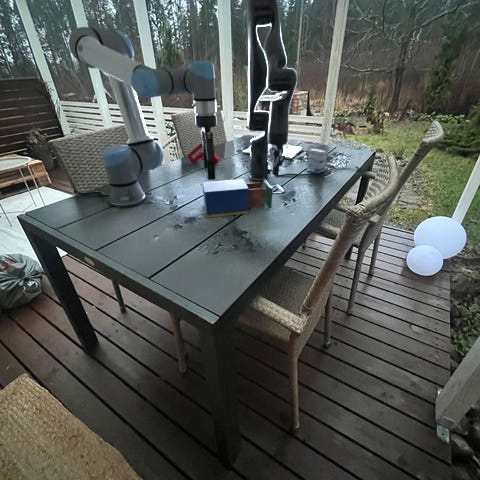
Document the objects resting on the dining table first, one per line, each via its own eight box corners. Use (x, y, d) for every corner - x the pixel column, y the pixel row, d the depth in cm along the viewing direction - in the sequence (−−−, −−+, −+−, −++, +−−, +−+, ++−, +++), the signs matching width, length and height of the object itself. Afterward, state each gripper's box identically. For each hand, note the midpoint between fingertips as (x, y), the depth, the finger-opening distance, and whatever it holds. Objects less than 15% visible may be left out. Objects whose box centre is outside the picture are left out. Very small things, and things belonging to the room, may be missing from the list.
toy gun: (223, 158, 167) (209, 137, 163) (221, 160, 164) (206, 138, 160) (204, 173, 177) (189, 154, 173) (201, 175, 174) (186, 155, 170)
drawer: (277, 197, 123) (278, 178, 119) (284, 206, 115) (286, 186, 111) (229, 202, 120) (229, 182, 115) (234, 211, 112) (233, 191, 107)
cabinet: (242, 202, 122) (242, 178, 116) (248, 213, 113) (248, 188, 107) (204, 206, 119) (202, 182, 113) (206, 217, 110) (204, 192, 104)
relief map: (291, 159, 177) (291, 151, 174) (243, 153, 190) (243, 145, 187) (302, 149, 197) (303, 142, 194) (258, 144, 211) (258, 137, 208)
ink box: (324, 171, 156) (327, 150, 149) (319, 173, 153) (323, 152, 146) (310, 168, 160) (313, 148, 154) (306, 170, 157) (309, 149, 151)
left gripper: (192, 109, 104) (197, 164, 116) (197, 120, 83) (203, 185, 95) (212, 109, 105) (215, 163, 117) (221, 119, 85) (224, 184, 96)
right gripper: (263, 127, 107) (262, 170, 117) (274, 134, 97) (271, 181, 106) (281, 126, 109) (278, 169, 118) (294, 133, 98) (289, 179, 107)
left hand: (209, 173), depth 106 cm, fingers open, 13 cm apart
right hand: (275, 174), depth 112 cm, fingers closed
